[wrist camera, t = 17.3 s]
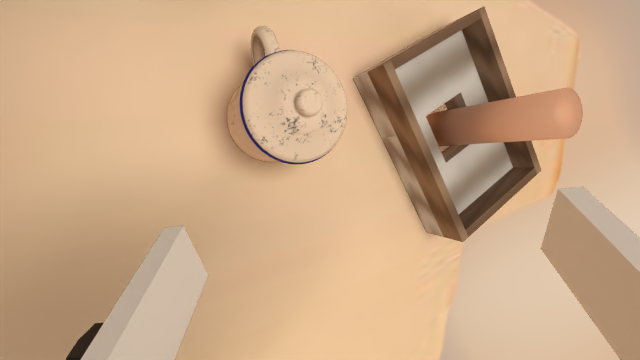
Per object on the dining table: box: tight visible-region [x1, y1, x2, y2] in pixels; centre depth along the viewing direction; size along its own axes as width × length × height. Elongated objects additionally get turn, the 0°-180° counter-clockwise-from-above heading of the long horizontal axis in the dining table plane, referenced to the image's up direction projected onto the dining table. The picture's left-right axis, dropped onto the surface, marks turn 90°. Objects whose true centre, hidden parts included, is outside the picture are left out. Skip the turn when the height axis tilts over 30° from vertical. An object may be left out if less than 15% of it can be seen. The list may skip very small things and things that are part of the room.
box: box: [353, 7, 541, 242], centre depth 41 cm, size 22×16×6 cm
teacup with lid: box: [227, 26, 347, 164], centre depth 29 cm, size 12×9×12 cm
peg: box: [426, 88, 583, 146], centre depth 36 cm, size 4×4×16 cm
